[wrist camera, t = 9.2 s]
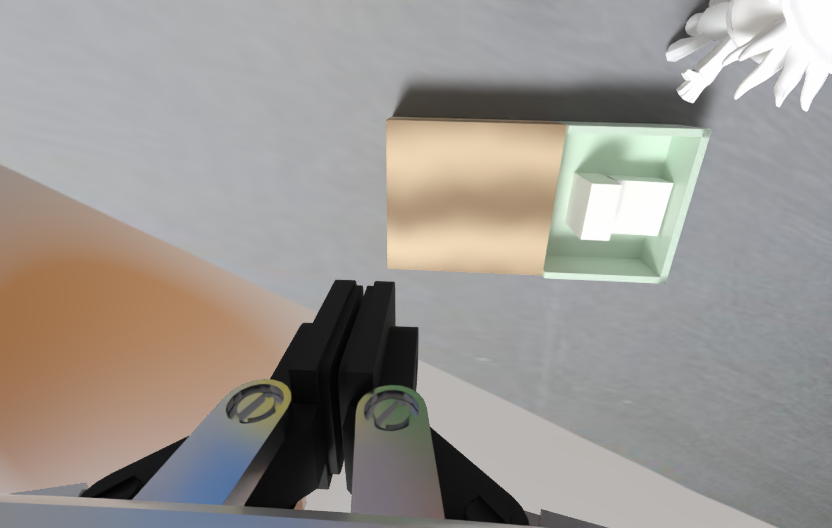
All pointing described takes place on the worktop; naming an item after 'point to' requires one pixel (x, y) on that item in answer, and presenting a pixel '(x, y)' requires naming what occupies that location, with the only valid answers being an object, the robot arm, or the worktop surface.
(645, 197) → the tile
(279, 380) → the robot arm
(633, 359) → the worktop surface
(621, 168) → the bin
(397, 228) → the oak plate
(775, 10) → the figurine
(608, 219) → the tile
